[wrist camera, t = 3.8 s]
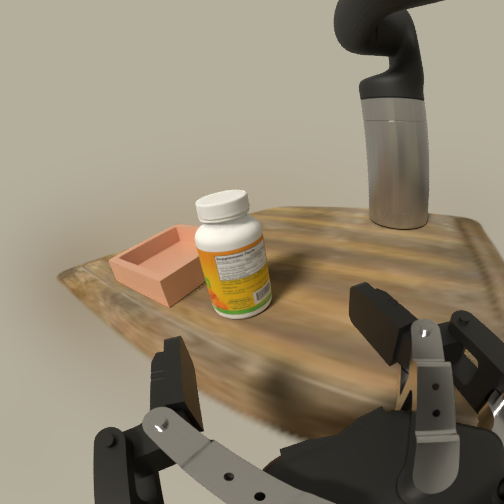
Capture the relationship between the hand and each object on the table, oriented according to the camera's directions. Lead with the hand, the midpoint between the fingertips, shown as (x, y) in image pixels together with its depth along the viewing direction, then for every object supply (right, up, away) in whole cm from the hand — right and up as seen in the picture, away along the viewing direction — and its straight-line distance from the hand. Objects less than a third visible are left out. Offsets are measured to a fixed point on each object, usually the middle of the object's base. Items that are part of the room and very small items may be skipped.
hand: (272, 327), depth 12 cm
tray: (-10, +1, +21) cm, 23 cm away
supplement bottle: (-2, -1, +13) cm, 13 cm away
